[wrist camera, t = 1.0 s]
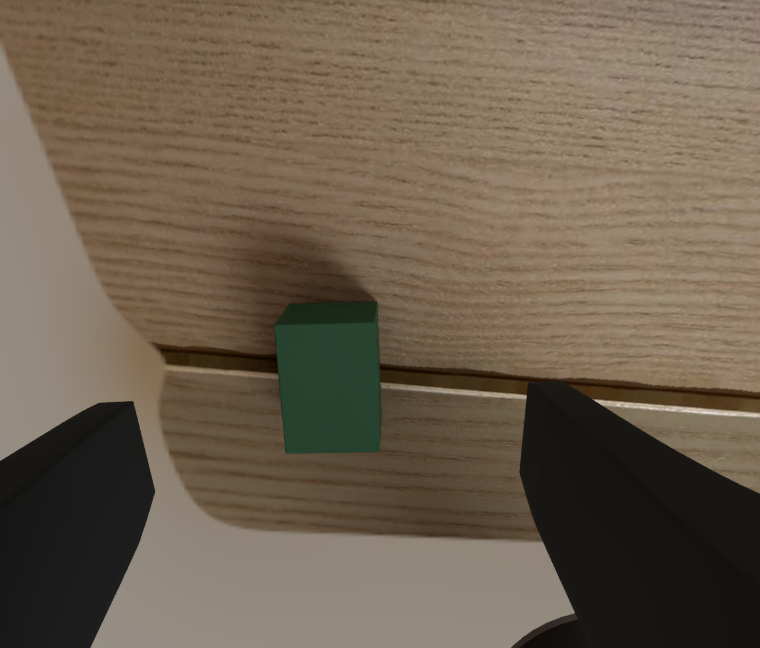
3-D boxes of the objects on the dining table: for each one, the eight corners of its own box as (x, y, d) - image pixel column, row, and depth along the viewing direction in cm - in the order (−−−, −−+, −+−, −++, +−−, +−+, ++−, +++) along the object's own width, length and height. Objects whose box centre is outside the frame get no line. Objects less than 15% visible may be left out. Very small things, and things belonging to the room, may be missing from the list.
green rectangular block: (381, 416, 23) (380, 452, 20) (298, 418, 23) (285, 454, 20) (377, 301, 22) (375, 321, 19) (289, 303, 22) (273, 324, 19)
